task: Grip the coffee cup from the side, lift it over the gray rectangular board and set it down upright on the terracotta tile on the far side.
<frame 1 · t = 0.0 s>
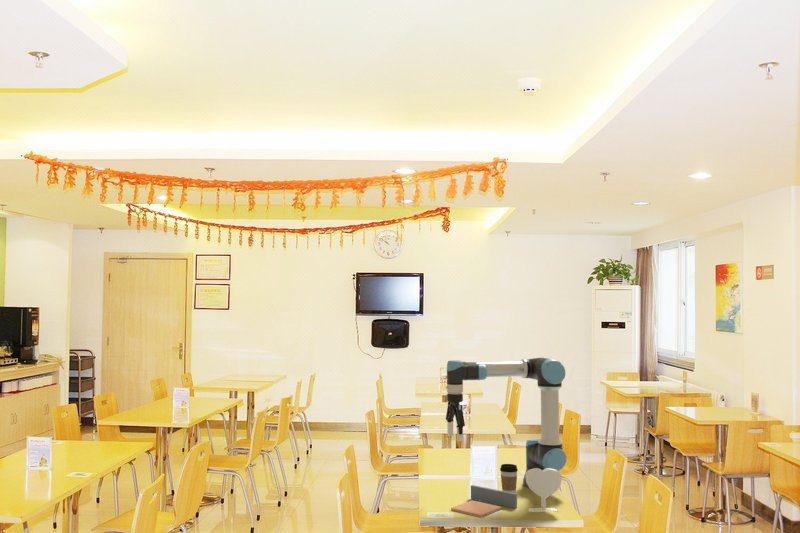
hand: (455, 438, 321), 28 cm above the table, tool pointing down, fingers open, 13 cm apart
terracotta tile: (476, 509, 302), on the table
gray rectangular board: (493, 502, 313), on the table
heart sculpture: (543, 510, 302), on the table
coffee cup: (509, 497, 324), on the table
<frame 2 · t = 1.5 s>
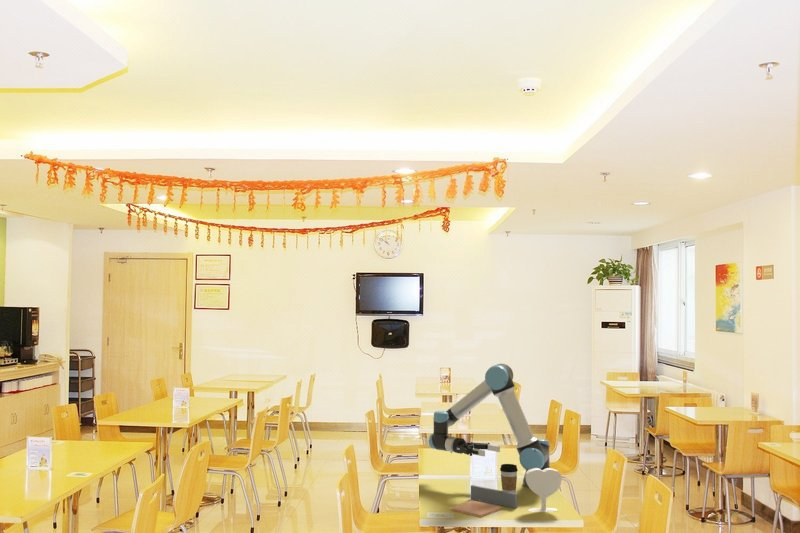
hand: (492, 451, 331), 20 cm above the table, tool horizontal, fingers open, 13 cm apart
nothing on the table moved.
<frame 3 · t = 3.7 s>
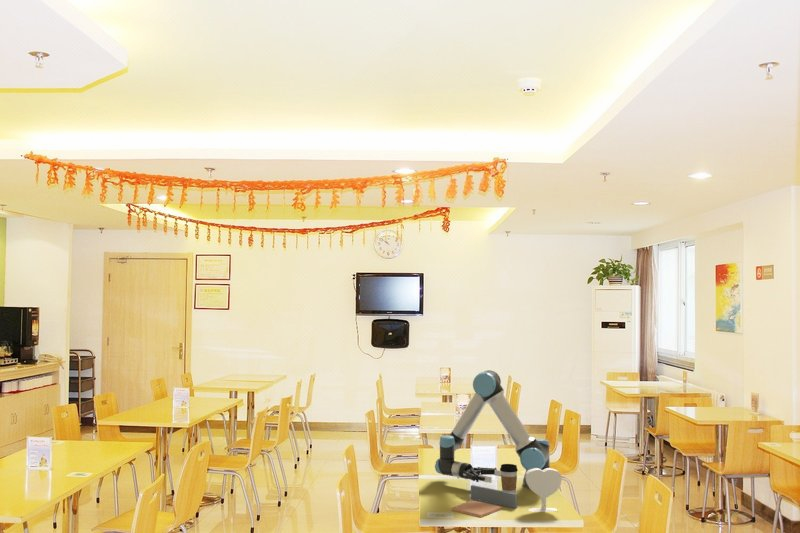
hand: (498, 477, 327), 8 cm above the table, tool horizontal, fingers open, 13 cm apart
nothing on the table moved.
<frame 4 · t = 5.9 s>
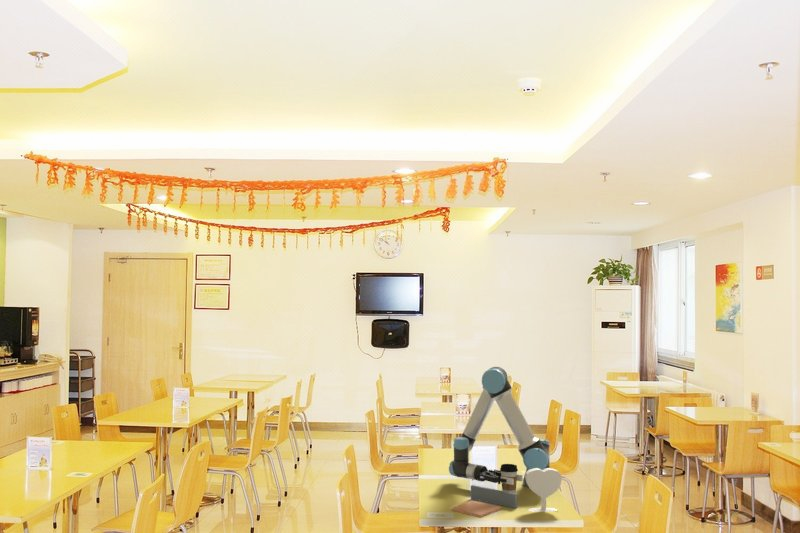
hand: (517, 480, 321), 9 cm above the table, tool horizontal, fingers closed on coffee cup, 8 cm apart
coffee cup: (509, 497, 324), on the table, touching gripper
everything else where it was.
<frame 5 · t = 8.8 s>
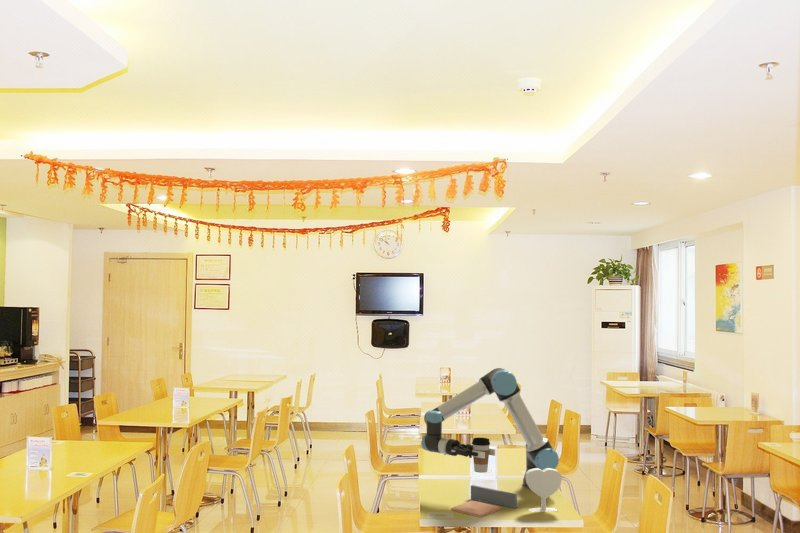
hand: (489, 454, 309), 23 cm above the table, tool horizontal, fingers closed on coffee cup, 8 cm apart
coffee cup: (480, 471, 312), point 15 cm above the table, touching gripper
everything else where it was.
when the fingers open (10 cm above the table, at t = 12.1 s): coffee cup stays where it is, resting on terracotta tile.
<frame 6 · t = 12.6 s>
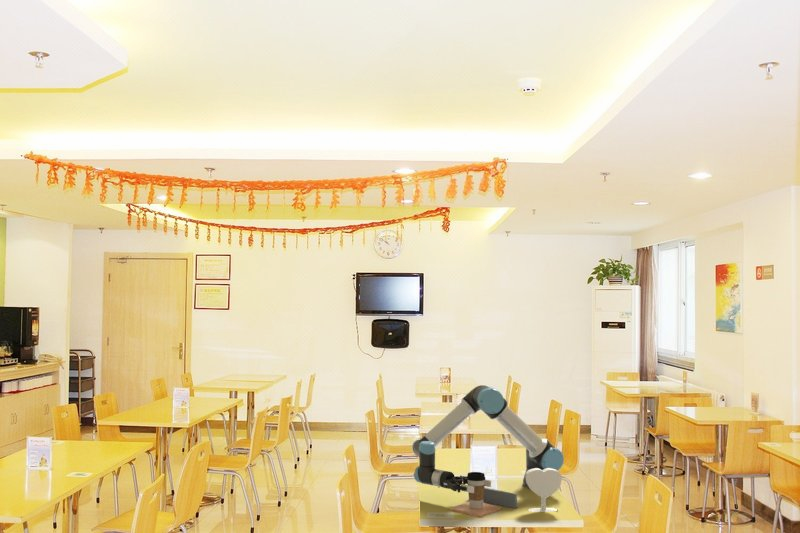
hand: (482, 486, 301), 10 cm above the table, tool horizontal, fingers open, 13 cm apart
coffee cup: (476, 507, 303), point 1 cm above the table, touching terracotta tile
everything else where it was.
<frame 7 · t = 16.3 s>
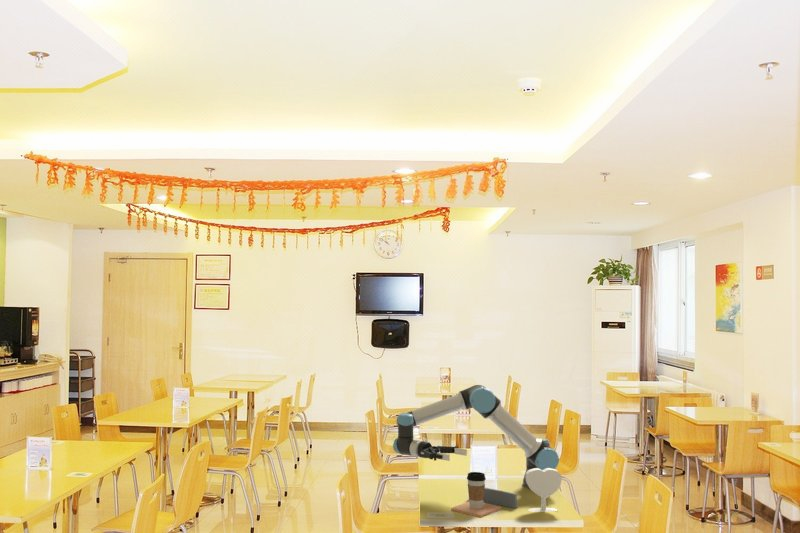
hand: (457, 455, 310), 23 cm above the table, tool horizontal, fingers open, 13 cm apart
nothing on the table moved.
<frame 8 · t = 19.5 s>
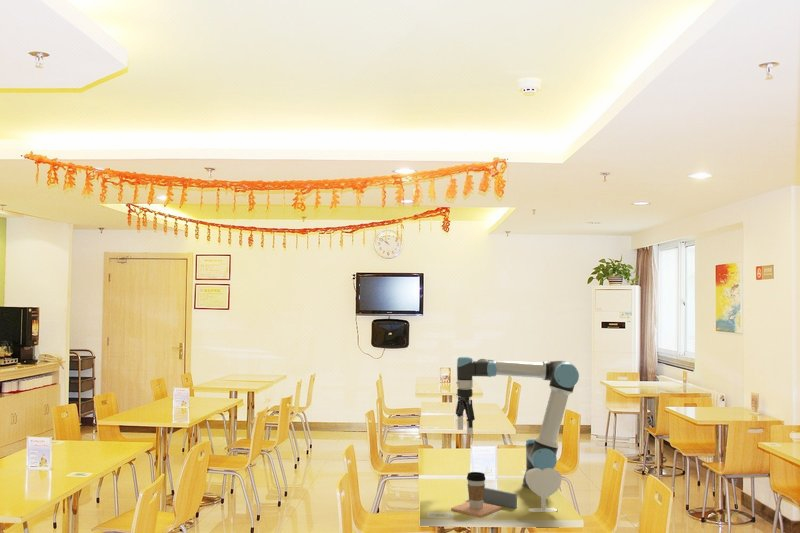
hand: (465, 432, 335), 29 cm above the table, tool pointing down, fingers open, 13 cm apart
nothing on the table moved.
at the end: coffee cup inside the target area on the terracotta tile (0.2 cm from its centre), point 0.8 cm above the terracotta tile's base; coffee cup tilted 0°; the gripper is holding nothing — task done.
